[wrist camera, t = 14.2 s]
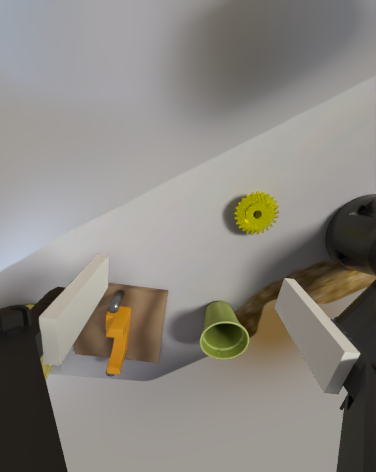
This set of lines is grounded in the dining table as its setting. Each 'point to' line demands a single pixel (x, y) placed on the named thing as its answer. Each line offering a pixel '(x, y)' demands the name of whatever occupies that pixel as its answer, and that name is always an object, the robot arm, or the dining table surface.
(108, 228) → the dining table surface
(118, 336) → the pipe clamp
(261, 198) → the gear
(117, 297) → the locating stubs
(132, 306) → the base plate
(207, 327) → the plant pot
